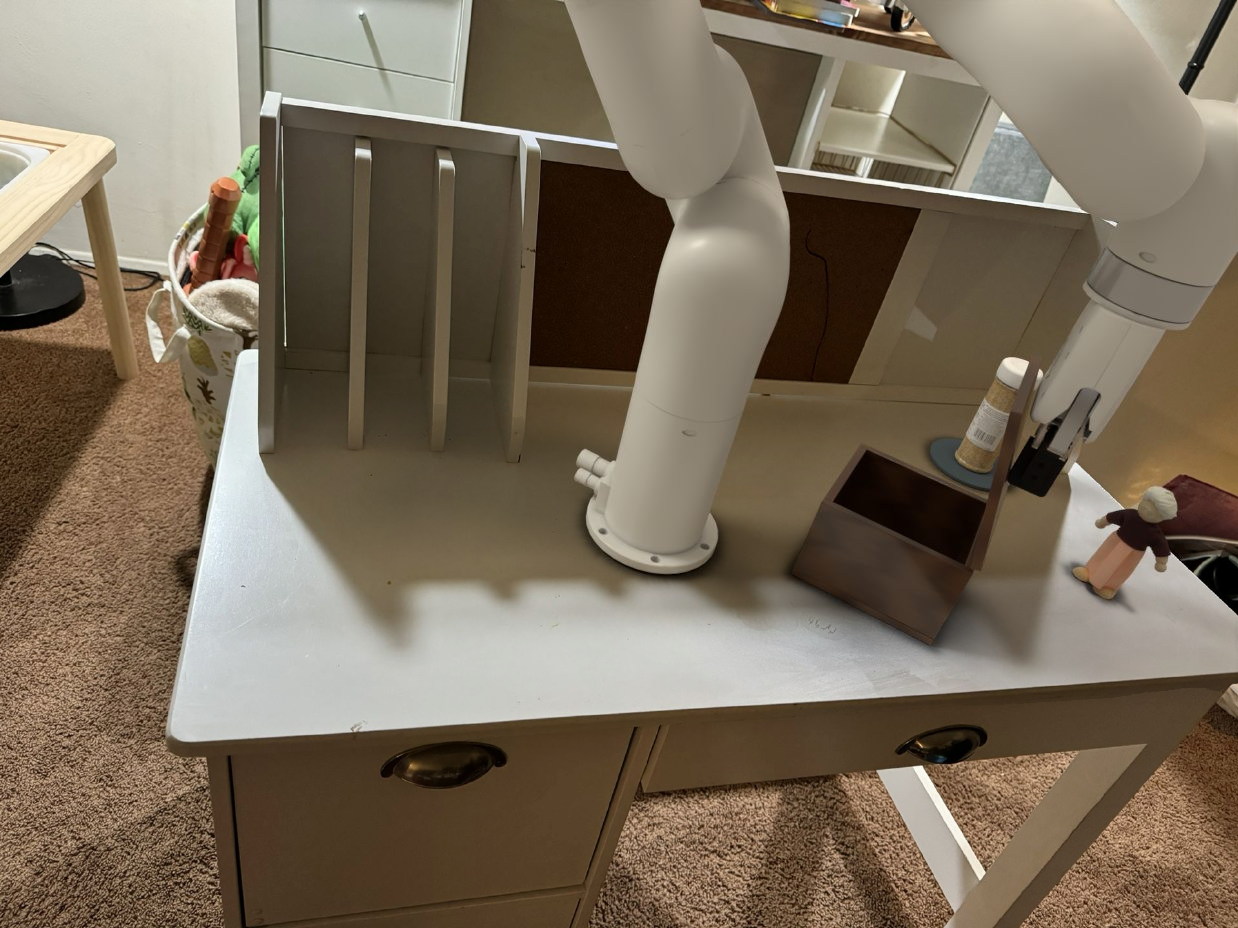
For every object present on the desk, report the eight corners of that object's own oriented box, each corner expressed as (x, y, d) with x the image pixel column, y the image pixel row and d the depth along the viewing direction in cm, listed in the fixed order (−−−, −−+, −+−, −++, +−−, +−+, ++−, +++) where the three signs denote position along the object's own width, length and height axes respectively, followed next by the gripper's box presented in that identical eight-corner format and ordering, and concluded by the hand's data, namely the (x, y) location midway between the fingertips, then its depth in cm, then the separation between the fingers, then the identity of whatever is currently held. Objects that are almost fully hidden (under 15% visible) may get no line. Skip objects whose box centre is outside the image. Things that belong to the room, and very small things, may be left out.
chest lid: (1010, 411, 64) (1022, 413, 64) (1031, 354, 74) (1042, 356, 74) (970, 568, 72) (980, 571, 71) (994, 498, 81) (1004, 500, 81)
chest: (790, 573, 81) (821, 501, 76) (831, 510, 91) (861, 442, 85) (930, 645, 77) (972, 574, 72) (957, 571, 86) (997, 503, 81)
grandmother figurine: (1056, 569, 90) (1121, 473, 83) (1072, 557, 92) (1136, 463, 85) (1127, 618, 86) (1202, 521, 78) (1142, 604, 88) (1216, 508, 81)
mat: (920, 465, 101) (922, 462, 101) (938, 430, 109) (940, 428, 109) (1005, 503, 98) (1006, 500, 98) (1017, 465, 106) (1019, 462, 106)
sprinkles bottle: (998, 470, 103) (1053, 373, 95) (975, 478, 101) (1029, 379, 93) (968, 448, 106) (1018, 353, 98) (945, 455, 104) (995, 358, 96)
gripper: (1099, 243, 69) (996, 431, 80) (1083, 297, 58) (965, 507, 68) (1199, 278, 67) (1078, 467, 77) (1202, 341, 55) (1061, 551, 66)
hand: (1026, 485), depth 73 cm, fingers closed
